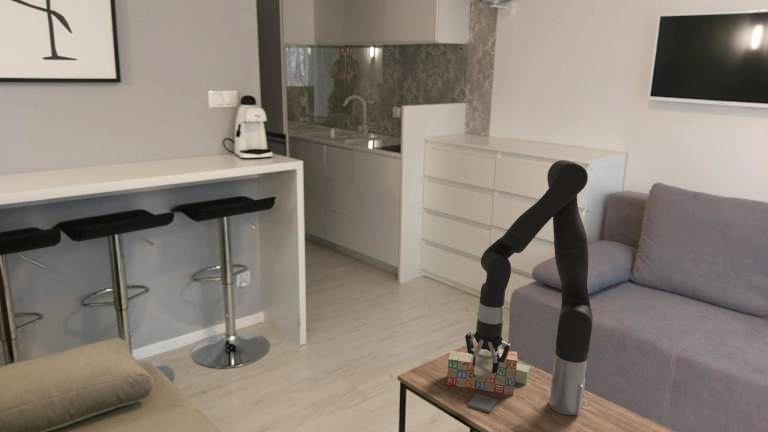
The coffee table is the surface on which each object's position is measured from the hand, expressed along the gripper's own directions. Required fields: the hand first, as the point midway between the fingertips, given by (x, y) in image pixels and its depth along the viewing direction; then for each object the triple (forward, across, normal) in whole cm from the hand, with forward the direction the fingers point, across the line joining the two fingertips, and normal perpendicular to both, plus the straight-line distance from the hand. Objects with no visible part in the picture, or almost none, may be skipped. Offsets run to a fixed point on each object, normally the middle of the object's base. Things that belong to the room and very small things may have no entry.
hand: (485, 369), depth 176 cm
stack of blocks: (+12, +4, -10) cm, 16 cm away
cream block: (+1, 0, 0) cm, 1 cm away
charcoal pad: (+11, 0, 0) cm, 11 cm away
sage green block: (+11, -6, -21) cm, 25 cm away
